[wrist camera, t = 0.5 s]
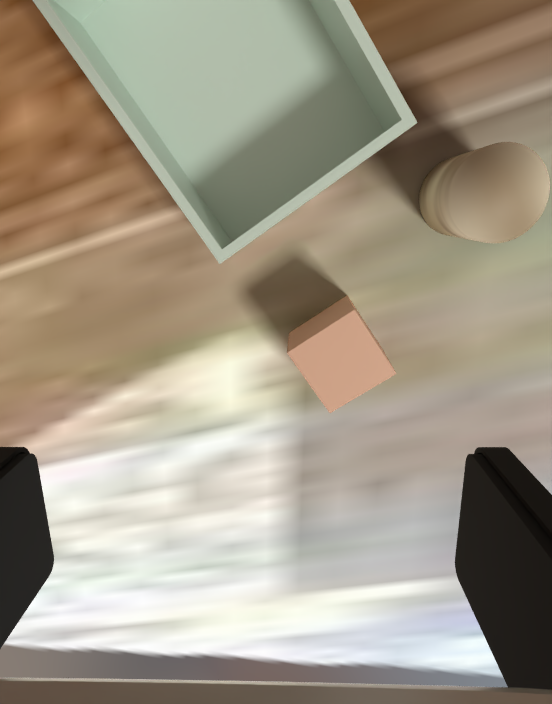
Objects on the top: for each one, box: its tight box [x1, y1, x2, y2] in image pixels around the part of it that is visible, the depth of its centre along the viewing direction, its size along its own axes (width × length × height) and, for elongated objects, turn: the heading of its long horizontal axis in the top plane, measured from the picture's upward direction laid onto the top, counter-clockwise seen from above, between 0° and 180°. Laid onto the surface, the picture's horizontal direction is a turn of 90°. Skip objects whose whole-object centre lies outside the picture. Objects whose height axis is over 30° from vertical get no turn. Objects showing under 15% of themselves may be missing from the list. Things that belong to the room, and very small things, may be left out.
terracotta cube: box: [287, 296, 396, 413], centre depth 32 cm, size 5×5×5 cm
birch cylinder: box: [419, 142, 550, 243], centre depth 28 cm, size 5×5×7 cm
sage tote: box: [33, 0, 417, 264], centre depth 27 cm, size 13×17×6 cm
